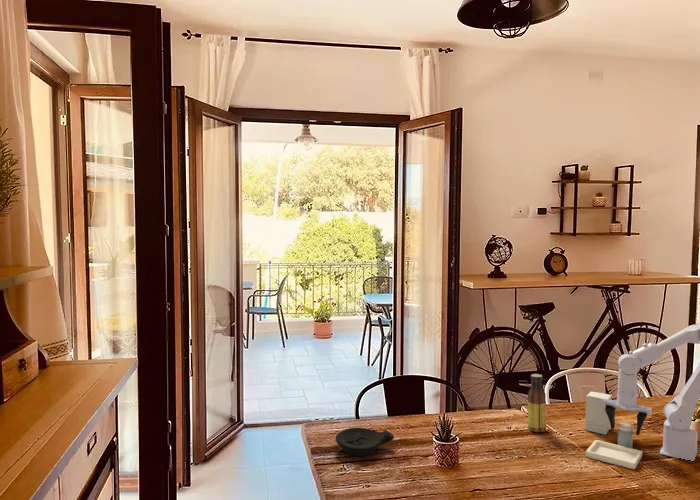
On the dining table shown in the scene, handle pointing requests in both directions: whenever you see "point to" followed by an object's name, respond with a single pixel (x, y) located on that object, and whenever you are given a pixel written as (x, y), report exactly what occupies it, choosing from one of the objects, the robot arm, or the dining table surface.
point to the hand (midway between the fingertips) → (625, 431)
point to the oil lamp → (362, 440)
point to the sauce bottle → (536, 405)
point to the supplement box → (596, 413)
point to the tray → (614, 454)
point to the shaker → (625, 435)
